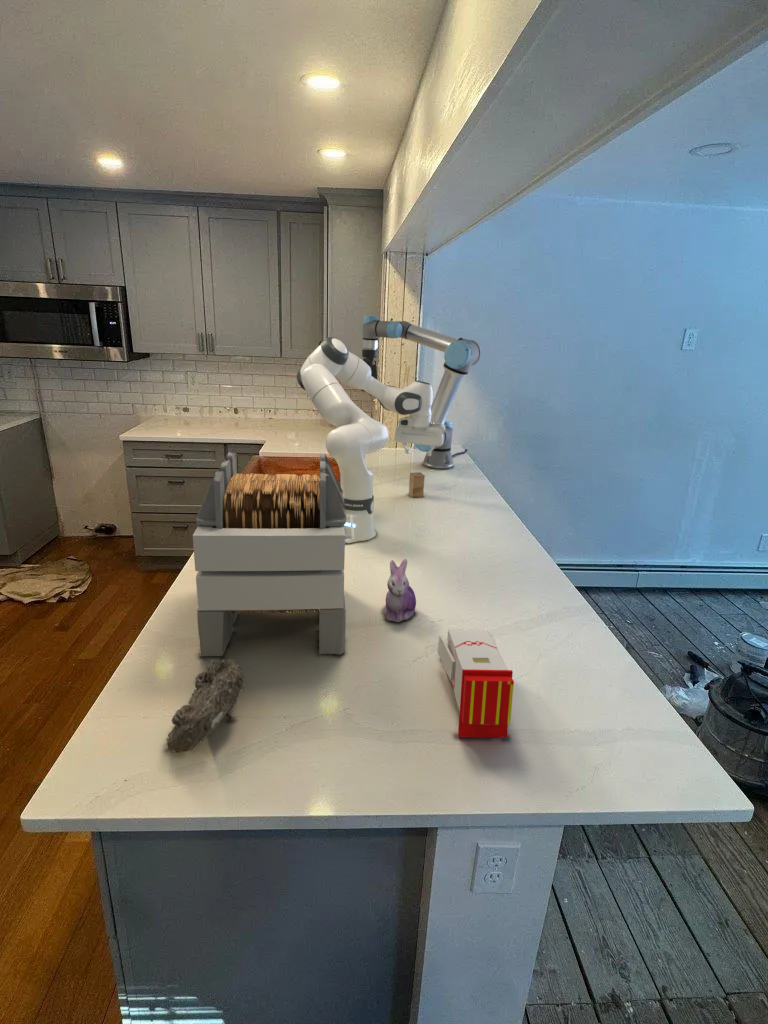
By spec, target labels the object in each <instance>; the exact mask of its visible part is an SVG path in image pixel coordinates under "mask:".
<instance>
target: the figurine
mask: <svg viewBox="0 0 768 1024" xmlns="http://www.w3.org/2000/svg"><path fill="white" fill-rule="evenodd" d="M407 567H408V559H406V558H404V559H403V560H402V561H401V563H400V565H399V566H398V565H397V563H396V562H395V561H394V560H393V559H391V560H390V561H389V570H390V576H389V578H388V579H387V589H388V591H387V592H386V594H385V595H386V596H385V607H384V615H385V616H386V620H387V621H391V622H395V623H400V622H402V621H406V620H409V619H410V618H411V617H413V616H414V615H415V610H416V606H417V597H416V593H415V591H414V590H413V587H411V586H410V582H409V579H408V577H407V574H406V571H407Z"/></svg>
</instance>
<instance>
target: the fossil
mask: <svg viewBox="0 0 768 1024" xmlns="http://www.w3.org/2000/svg"><path fill="white" fill-rule="evenodd" d="M243 670H244V669H243V667H242V665H240V664H237V662H236V661H235V660H234V659H232V658H231V659H227V658H226V659H224V660H223V661H222V660H217V659H212V660H211V661H210V663H209V665H208V666H207V671H201V672H199V673H198V674H197V675H196V676H195V680H194V684H195V685H194V687H195V689H194V690H193V693H192V694H191V697H190V698H189V700H188V704H184V705H182V706H181V707H180V709H177V710H176V711H175V713H174V715H173V716H172V718H171V723H172V724H173V727H172V730H171V731H170V732H168V734H167V738H166V741H167V742H166V745H167V749H168V750H169V751H173V752H174V753H176V754H178V753H182V752H188V751H189V752H192V751H193V750H195V748H196V747H197V746H199V744H200V743H201V742H203V741H204V740H205V739H206V738H207V737H208V736H209V735H210V734H211V733H212V732H214V730H215V729H217V727H218V726H219V724H220V722H221V721H222V720H223V719H224V718H225V716H226V717H227V719H229V720H233V717H232V715H230V714H229V710H230V709H231V708H234V706H235V704H236V703H237V702H238V699H239V697H240V695H241V693H242V691H243V690H245V689H244V688H245V675H244V671H243Z"/></svg>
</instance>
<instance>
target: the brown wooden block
mask: <svg viewBox="0 0 768 1024" xmlns="http://www.w3.org/2000/svg"><path fill="white" fill-rule="evenodd" d="M425 476H426V475H425V474H424V473H422V472H420V471H419V472H417V471H416V472H409V482H408V496H410V497H411V498H412V499H413V498H424V491H425V490H424V489H425V488H424V487H425V478H426V477H425Z"/></svg>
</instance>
